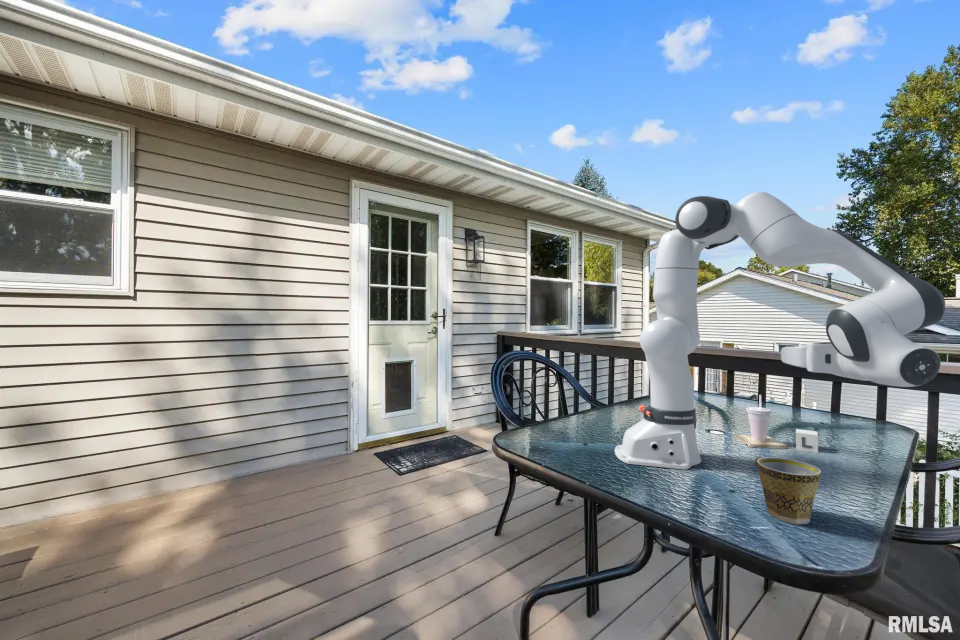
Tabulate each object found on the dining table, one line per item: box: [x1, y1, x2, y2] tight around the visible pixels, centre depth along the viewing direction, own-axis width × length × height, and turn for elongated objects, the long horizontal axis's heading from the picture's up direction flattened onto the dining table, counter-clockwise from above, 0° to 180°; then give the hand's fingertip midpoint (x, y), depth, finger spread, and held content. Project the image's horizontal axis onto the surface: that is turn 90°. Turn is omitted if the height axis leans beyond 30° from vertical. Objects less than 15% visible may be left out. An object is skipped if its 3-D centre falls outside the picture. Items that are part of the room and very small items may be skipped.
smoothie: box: [745, 394, 772, 442], centre depth 125 cm, size 6×6×14 cm
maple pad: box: [733, 434, 788, 450], centre depth 125 cm, size 10×10×1 cm
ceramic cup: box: [755, 456, 822, 525], centre depth 80 cm, size 13×10×10 cm
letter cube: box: [795, 428, 819, 453], centre depth 119 cm, size 5×5×5 cm
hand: (811, 353), depth 102 cm, fingers open, 8 cm apart
